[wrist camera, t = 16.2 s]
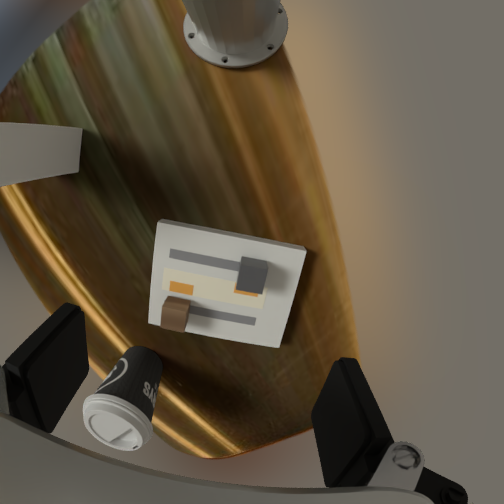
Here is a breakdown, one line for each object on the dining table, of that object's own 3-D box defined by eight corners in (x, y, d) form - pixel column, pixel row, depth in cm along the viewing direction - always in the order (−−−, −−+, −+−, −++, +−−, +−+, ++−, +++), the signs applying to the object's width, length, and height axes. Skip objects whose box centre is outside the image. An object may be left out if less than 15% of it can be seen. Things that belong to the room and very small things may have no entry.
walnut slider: (167, 295, 38) (161, 306, 35) (190, 300, 38) (186, 311, 35) (165, 315, 39) (160, 327, 36) (188, 320, 39) (183, 332, 36)
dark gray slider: (241, 256, 36) (240, 264, 33) (266, 260, 36) (268, 269, 34) (236, 279, 37) (235, 289, 34) (261, 284, 37) (262, 294, 34)
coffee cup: (135, 389, 46) (108, 455, 31) (104, 345, 43) (63, 408, 29) (183, 378, 45) (164, 452, 30) (153, 330, 42) (118, 400, 28)
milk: (50, 129, 33) (-74, 128, 12) (83, 128, 33) (-44, 119, 12) (46, 172, 35) (-77, 197, 14) (79, 173, 35) (-48, 199, 14)
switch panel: (162, 218, 37) (157, 222, 35) (303, 246, 38) (306, 251, 36) (152, 315, 41) (148, 323, 39) (277, 339, 42) (278, 348, 40)
